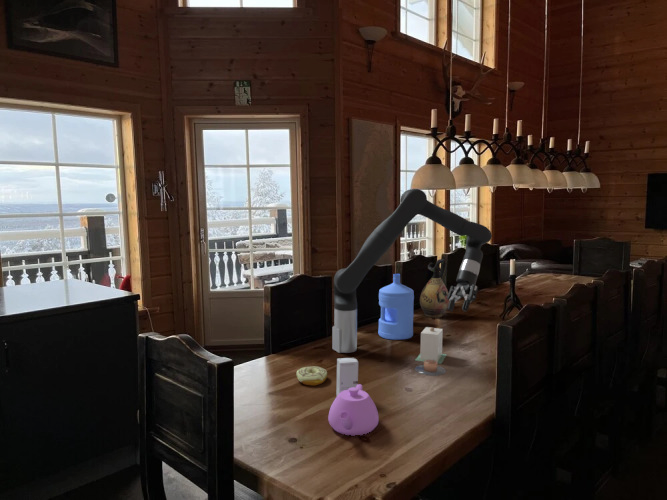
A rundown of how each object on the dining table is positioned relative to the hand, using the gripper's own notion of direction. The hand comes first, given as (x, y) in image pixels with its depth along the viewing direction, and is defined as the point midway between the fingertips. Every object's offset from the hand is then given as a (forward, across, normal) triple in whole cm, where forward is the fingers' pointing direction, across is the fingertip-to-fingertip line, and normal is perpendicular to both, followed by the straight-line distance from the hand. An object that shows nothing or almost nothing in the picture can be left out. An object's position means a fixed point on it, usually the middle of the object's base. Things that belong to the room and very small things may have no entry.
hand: (457, 310), depth 191 cm
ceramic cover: (+20, -6, -1) cm, 21 cm away
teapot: (+53, +30, -45) cm, 76 cm away
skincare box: (+46, +12, -40) cm, 62 cm away
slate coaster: (+26, +5, -7) cm, 28 cm away
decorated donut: (+45, -5, -45) cm, 64 cm away
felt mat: (+20, -6, -1) cm, 21 cm away
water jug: (+12, -37, 0) cm, 39 cm away
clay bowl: (+26, +5, -8) cm, 28 cm away
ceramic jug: (-11, -59, +33) cm, 69 cm away
